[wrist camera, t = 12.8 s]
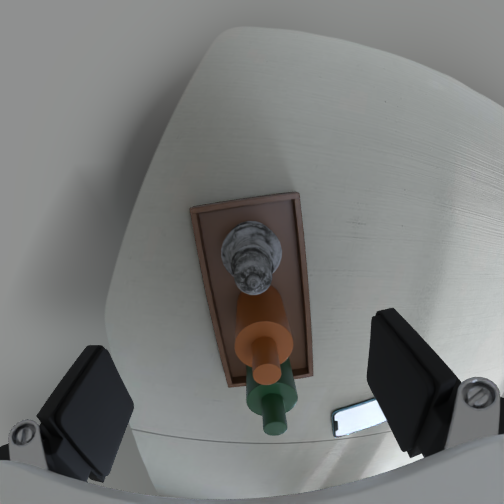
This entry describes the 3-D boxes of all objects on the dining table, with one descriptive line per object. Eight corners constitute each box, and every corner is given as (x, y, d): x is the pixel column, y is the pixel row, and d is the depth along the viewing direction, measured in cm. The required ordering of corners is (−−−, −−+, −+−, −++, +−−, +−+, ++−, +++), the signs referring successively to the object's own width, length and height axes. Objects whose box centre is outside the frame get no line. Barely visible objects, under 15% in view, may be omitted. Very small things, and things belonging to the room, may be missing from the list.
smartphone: (418, 379, 38) (331, 410, 39) (420, 381, 38) (331, 412, 38) (413, 408, 40) (333, 437, 41) (414, 409, 40) (333, 439, 40)
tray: (193, 206, 31) (189, 208, 28) (295, 191, 30) (299, 192, 28) (229, 378, 37) (228, 387, 34) (310, 366, 36) (313, 376, 34)
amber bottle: (233, 286, 32) (227, 352, 20) (279, 279, 32) (298, 342, 20) (240, 325, 34) (239, 401, 21) (283, 319, 34) (302, 392, 21)
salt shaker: (236, 209, 30) (230, 230, 18) (287, 231, 31) (311, 265, 19) (215, 258, 31) (198, 305, 20) (264, 278, 32) (273, 334, 21)
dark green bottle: (243, 338, 34) (242, 414, 22) (285, 332, 34) (302, 407, 22) (249, 370, 35) (251, 446, 23) (288, 364, 35) (304, 440, 23)
